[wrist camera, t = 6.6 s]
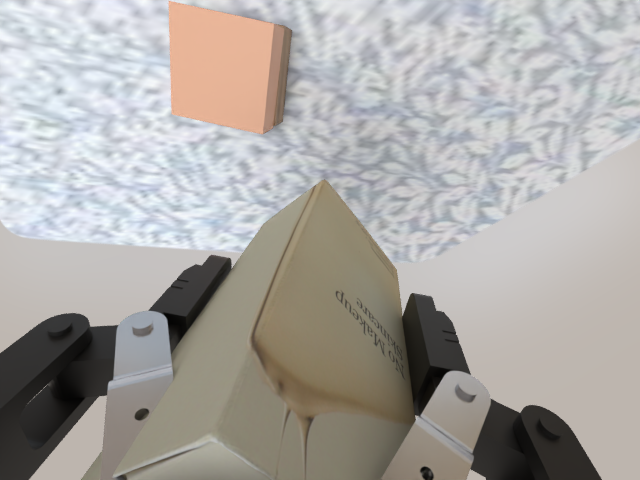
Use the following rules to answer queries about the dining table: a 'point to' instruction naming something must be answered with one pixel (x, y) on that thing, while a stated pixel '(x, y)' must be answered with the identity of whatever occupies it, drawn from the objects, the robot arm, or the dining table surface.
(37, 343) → the robot arm
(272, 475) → the skincare box
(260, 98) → the terracotta slab
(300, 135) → the dining table surface
